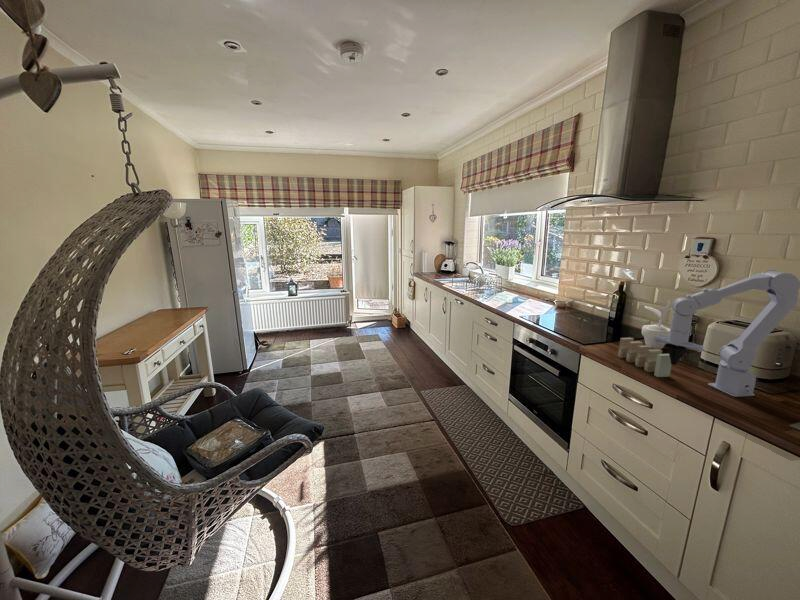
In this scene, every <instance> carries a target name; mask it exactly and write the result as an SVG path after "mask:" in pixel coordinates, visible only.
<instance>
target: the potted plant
mask: <svg viewBox="0 0 800 600" xmlns="http://www.w3.org/2000/svg"><path fill="white" fill-rule="evenodd" d="M665 302H667V305H665V306H664V307H662V309H661V310H660V309H656V307H655V308H654V307H651V306H647V305H644V309H646V310H648V311H650V312H651V313H652V314H653V315H654V317H657V318H658V319H659V320H658V323H657V324H655V323H654V324H645V325H642V326H641V327H642V328H641V335H642V336H643V339H644V343H645V345H650V346H652V349H659V350H662V349H663V348H665V345H667V344H666V343H662V342H655V341H654V337H655V336H661V337H667V338H669V333H670V327H666V326H664V325H663V324H662V323H663V320H664V317H666V316H667V315H669V314H668V313H669V307H671V309H673V308H672V301H671V298H668V300H667V301H666V300H665ZM670 303H671V304H670Z"/></svg>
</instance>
